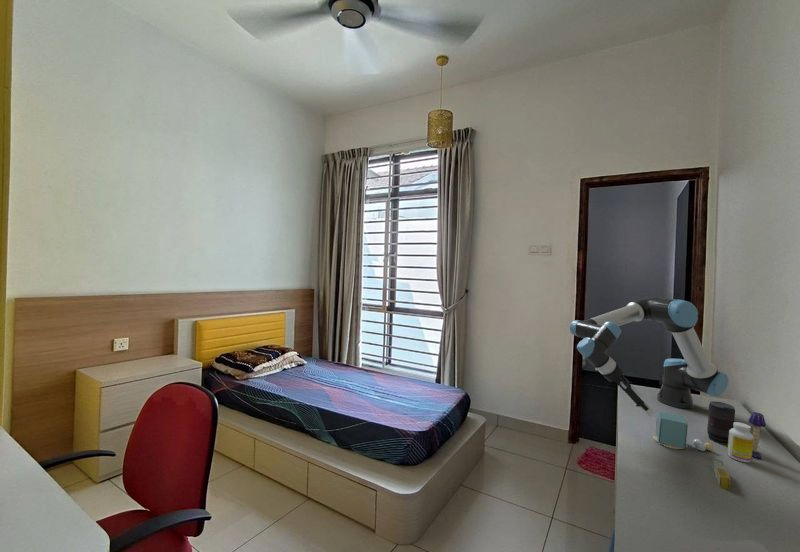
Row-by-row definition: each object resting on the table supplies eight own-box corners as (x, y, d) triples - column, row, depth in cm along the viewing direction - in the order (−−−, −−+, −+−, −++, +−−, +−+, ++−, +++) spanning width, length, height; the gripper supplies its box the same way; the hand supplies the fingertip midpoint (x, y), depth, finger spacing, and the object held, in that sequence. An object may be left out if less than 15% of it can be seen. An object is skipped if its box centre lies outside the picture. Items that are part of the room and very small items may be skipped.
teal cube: (655, 434, 149) (657, 410, 149) (681, 439, 145) (683, 415, 145) (658, 442, 142) (660, 418, 141) (685, 449, 138) (687, 423, 137)
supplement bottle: (756, 464, 130) (759, 430, 129) (735, 461, 131) (738, 427, 131) (742, 454, 137) (745, 422, 136) (722, 452, 138) (725, 419, 137)
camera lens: (700, 434, 152) (704, 400, 151) (720, 436, 152) (723, 401, 151) (717, 444, 144) (720, 408, 143) (737, 446, 144) (741, 409, 143)
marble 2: (696, 447, 140) (697, 440, 140) (706, 451, 138) (707, 443, 138) (694, 450, 139) (695, 442, 138) (704, 453, 136) (705, 445, 136)
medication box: (712, 470, 125) (713, 459, 125) (722, 472, 124) (723, 461, 124) (719, 487, 115) (720, 475, 115) (730, 491, 114) (731, 478, 114)
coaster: (658, 433, 151) (658, 432, 151) (691, 444, 143) (691, 443, 143) (649, 440, 145) (649, 439, 144) (682, 453, 136) (682, 451, 136)
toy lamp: (764, 461, 133) (768, 417, 132) (747, 457, 135) (751, 414, 134) (759, 455, 137) (763, 412, 136) (743, 451, 139) (747, 409, 138)
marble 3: (703, 447, 141) (704, 440, 141) (713, 451, 139) (714, 443, 138) (701, 449, 139) (702, 442, 139) (711, 453, 137) (712, 445, 137)
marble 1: (693, 444, 143) (694, 436, 143) (703, 447, 141) (704, 440, 141) (691, 446, 142) (692, 438, 141) (701, 449, 139) (701, 442, 139)
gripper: (594, 361, 165) (628, 395, 164) (609, 388, 141) (649, 427, 140) (608, 352, 162) (642, 386, 161) (626, 377, 139) (666, 417, 138)
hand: (646, 405), depth 151 cm, fingers open, 13 cm apart
